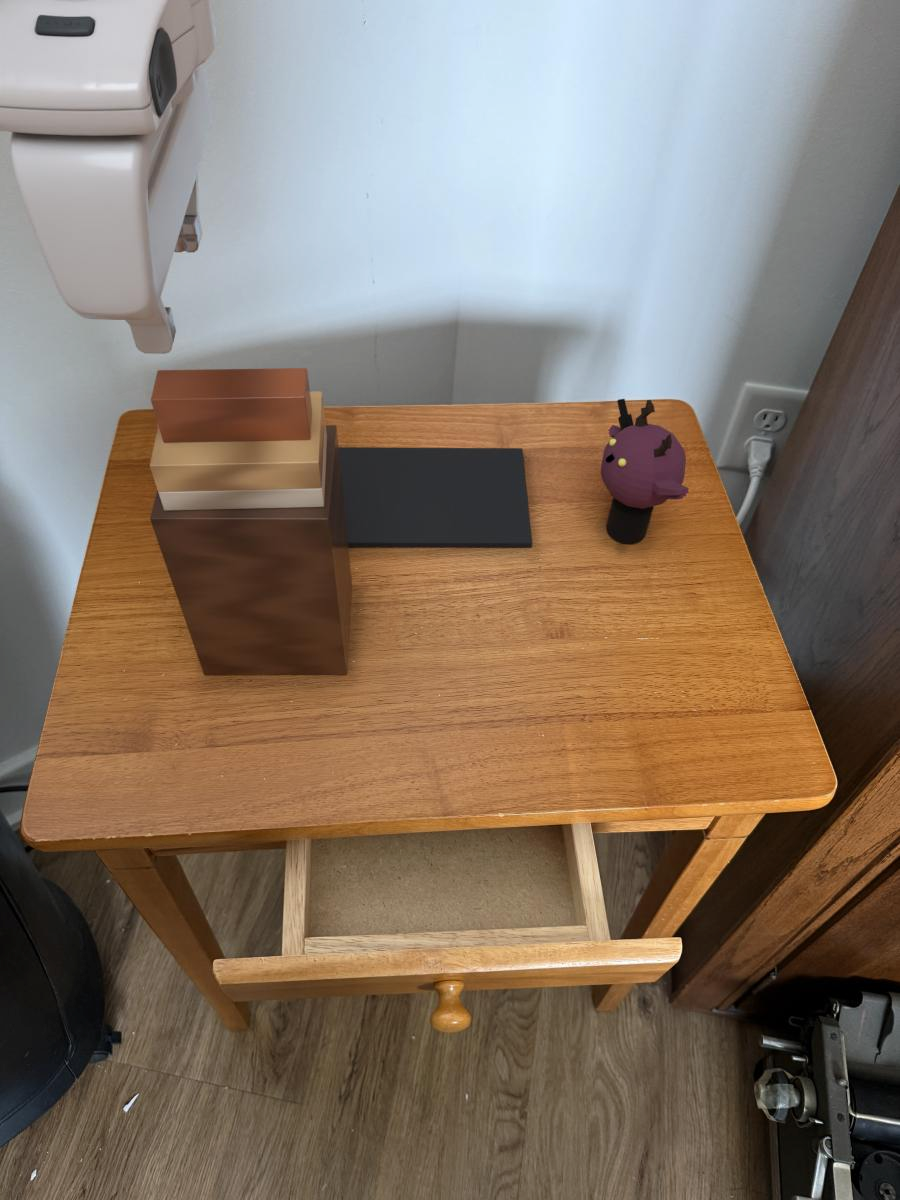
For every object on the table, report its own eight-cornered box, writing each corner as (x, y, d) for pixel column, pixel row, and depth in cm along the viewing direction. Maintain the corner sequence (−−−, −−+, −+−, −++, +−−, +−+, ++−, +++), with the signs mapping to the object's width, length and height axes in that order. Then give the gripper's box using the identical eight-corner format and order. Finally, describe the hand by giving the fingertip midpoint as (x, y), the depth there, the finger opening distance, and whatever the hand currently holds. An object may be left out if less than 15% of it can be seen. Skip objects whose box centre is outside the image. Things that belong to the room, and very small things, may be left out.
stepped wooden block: (163, 511, 50) (134, 422, 45) (177, 439, 54) (152, 349, 49) (324, 507, 51) (313, 419, 46) (327, 436, 54) (317, 347, 49)
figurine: (600, 482, 75) (626, 365, 66) (691, 515, 73) (730, 399, 64) (563, 543, 71) (584, 428, 62) (658, 581, 69) (695, 467, 59)
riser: (203, 675, 62) (149, 518, 50) (219, 587, 67) (173, 423, 55) (346, 675, 63) (328, 519, 50) (352, 587, 68) (336, 424, 55)
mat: (278, 547, 70) (277, 542, 69) (290, 451, 77) (290, 446, 76) (531, 547, 71) (532, 542, 70) (521, 453, 77) (522, 447, 77)
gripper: (84, -78, 44) (148, 195, 55) (-46, 106, 31) (71, 412, 42) (213, -73, 44) (251, 197, 55) (136, 110, 32) (205, 414, 43)
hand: (173, 292), depth 49 cm, fingers open, 8 cm apart
